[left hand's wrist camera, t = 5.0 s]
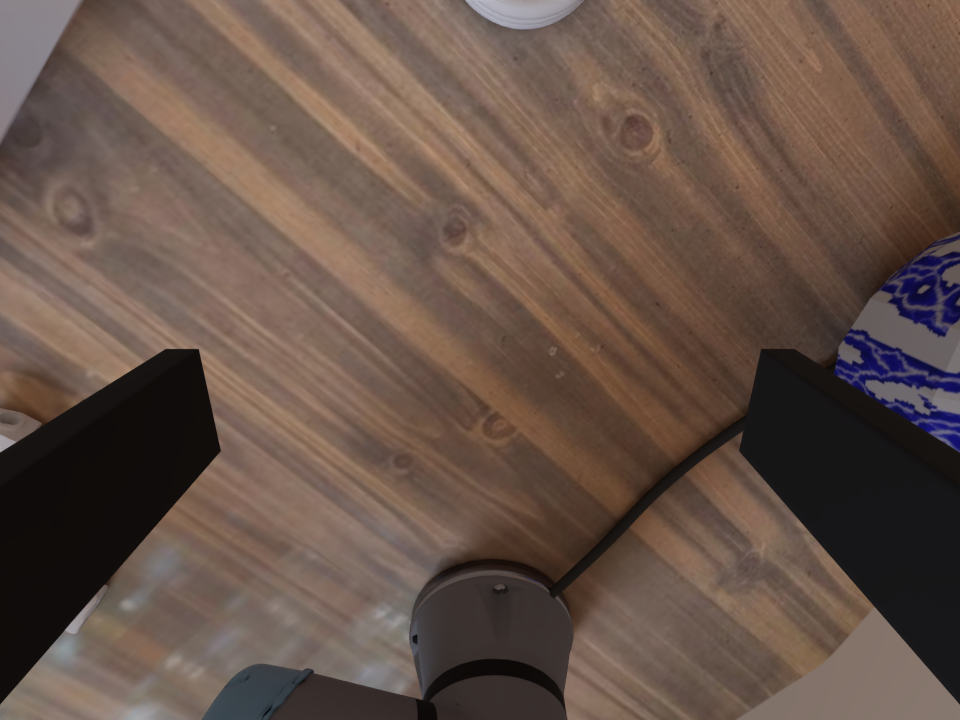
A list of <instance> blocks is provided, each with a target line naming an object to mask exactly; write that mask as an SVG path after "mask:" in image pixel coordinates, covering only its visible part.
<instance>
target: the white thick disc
mask: <svg viewBox="0 0 960 720" xmlns="http://www.w3.org/2000/svg"><path fill="white" fill-rule="evenodd" d="M465 1H466V2H467V3H468V4H469V5H470V6H471V7H472V8H473V9H474V10H476V11H477V12H478V13H479V14H481V15H482V16H483V17H485V18H487V19H489V20H490V21H492V22H494V23H497V24H499V25H501V26H505V27H509V28H513V29H535V28H540V27H544V26H547V25H550V24H553V23H555V22H557V21H559V20H560V19H562V18H564V17H566V16H567V15H568V14H570V13H571V12H572V11H574V10H575V9H576V8H577V7H578V6H579V5H580V4H581V3H582V2H583V1H584V0H465Z"/></svg>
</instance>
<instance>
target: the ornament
mask: <svg viewBox="0 0 960 720" xmlns="http://www.w3.org/2000/svg"><path fill="white" fill-rule="evenodd" d="M834 374H835V375H837V376H838V377H840V378H841V379H843V380H845V381H846V382H848V383H849V384H851V385H853V386H854V387H856V388H857V389H859V390H861V391H862V392H864V393H865V394H867V395H869V396H870V397H872V398H873V399H875V400H877V401H878V402H880V403H882V404H883V405H885V406H886V407H888V408H890V409H891V410H893V411H894V412H896V413H898V414H899V415H901V416H902V417H904V418H906V419H907V420H909V421H910V422H912V423H914V424H915V425H917V426H918V427H920V428H922V429H923V430H925V431H926V432H928V433H930V434H931V435H933V436H934V437H936V438H938V439H939V440H941V441H942V442H944V443H946V444H947V445H949V446H951V447H952V448H954V449H955V450H957V451H959V452H960V232H958V233H955V234H952V235H950V236H947V237H944V238H942V239H939V240H936V241H935V242H934V243H932V244H931V245H930V246H929V247H927V248H926V249H925V250H923V251H922V252H921V253H919V254H918V255H917V256H916V257H914V258H913V259H912V260H910V261H909V262H908V263H906V264H905V265H904V266H903V267H901V268H900V269H899V270H897V271H896V272H895V273H894V274H892V275H891V276H890V277H889V278H888V279H887V280H886V282H885V283H884V284H883V285H882V286H881V287H880V288H879V289H878V290H877V292H876V293H875V294H874V295H873V296H872V297H871V298H870V300H869V301H868V303H867V304H866V306H865V307H864V309H863V310H862V312H861V314H860V315H859V317H858V318H857V320H856V321H855V323H854V324H853V326H852V327H851V329H850V331H849V332H848V334H847V335H846V337H845V338H844V340H843V341H842V343H841V344H840V346H839V350H838V356H837V362H836V368H835V373H834Z"/></svg>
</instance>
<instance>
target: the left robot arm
mask: <svg viewBox="0 0 960 720" xmlns="http://www.w3.org/2000/svg"><path fill="white" fill-rule="evenodd" d="M836 362H837V361H836ZM836 362H835V363H833V364H831V365H829V366H828V367H826V368H824V367H822V366H821V365H819V364H817V363H816V362H814V361H812V360H811V359H809V358H808V357H806V356H804V355H803V354H801V353H800V352H798V351H796V350H795V349H761V353H760V358H759V362H758V367H757V371H756V376H755V381H754V385H753V390H752V394H751V399H750V404H749V408H748V413H747V415H746V416H744V417H743V418H741V419H740V420H738V421H737V422H735V423H734V424H732V425H731V426H729V427H728V428H726V429H725V430H724V431H722V432H721V433H719V434H718V435H716V436H715V437H714V438H712V439H711V440H709V441H708V442H707V443H705V444H704V445H703V446H701V447H700V448H699V449H697V450H696V451H695V452H693V453H692V454H691V455H690V456H688V457H687V458H686V459H685V460H683V461H682V462H681V463H680V464H679V465H677V466H676V467H675V468H674V469H673V470H672V471H670V472H669V473H668V474H667V475H666V476H665V477H663V478H662V479H661V480H660V481H659V482H658V483H657V484H656V485H655V486H654V487H653V488H651V489H650V490H649V491H648V492H647V493H646V494H645V495H644V496H643V497H642V498H641V499H640V500H639V501H638V503H637V504H636V505H635V506H634V507H633V508H632V509H631V510H630V511H629V512H628V513H627V514H626V515H625V517H624V518H623V519H622V520H621V521H620V522H619V523H618V524H617V525H616V526H615V527H614V528H613V529H612V530H611V531H610V532H609V533H608V534H607V535H606V536H605V537H604V538H603V539H602V540H601V541H600V542H599V543H598V544H597V545H596V546H595V547H594V548H593V549H592V550H591V551H590V552H589V553H588V554H587V555H586V556H585V557H584V558H582V559H581V560H580V561H579V562H578V563H577V564H576V565H575V566H574V567H573V568H572V569H571V570H570V571H569V572H567V573H566V574H565V575H564V576H563V577H562V578H561V579H560V580H559V581H558V582H557V583H554V582H553V581H551V580H550V579H549V578H548V577H546V576H545V575H544V574H542V573H540V572H539V571H537V570H535V569H533V568H530V567H528V566H525V565H522V564H518V563H514V562H510V561H502V560H482V561H474V562H469V563H465V564H461V565H458V566H456V567H453V568H451V569H449V570H447V571H445V572H443V573H441V574H440V575H438V576H437V577H435V578H434V579H433V580H432V581H430V582H429V583H428V584H427V585H426V586H425V587H424V589H423V590H422V591H421V593H420V594H419V596H418V598H417V600H416V602H415V604H414V608H413V612H412V619H411V625H410V635H409V638H410V645H411V649H412V653H413V656H414V662H415V667H416V671H417V676H418V680H419V685H420V689H421V694H422V700H420V699H415V698H412V697H408V696H403V695H399V694H395V693H391V692H387V691H383V690H379V689H375V688H371V687H367V686H363V685H359V684H355V683H351V682H347V681H342V680H338V679H334V678H330V677H326V676H322V675H318V674H314V670H312V669H308V668H307V669H305V670H303V671H301V670H295V669H289V668H284V667H279V666H273V665H268V664H256V665H252V666H249V667H247V668H245V669H243V670H242V671H241V672H239V673H238V674H237V675H235V676H234V677H233V678H232V679H231V680H230V681H229V682H228V683H227V685H226V686H225V687H224V688H223V690H222V691H221V692H220V693H219V695H218V696H217V697H216V699H215V700H214V702H213V703H212V705H211V706H210V708H209V709H208V711H207V712H206V714H205V715H204V717H203V718H202V720H567V715H566V709H565V702H564V689H565V682H566V676H567V669H568V661H569V654H570V651H571V647H572V643H573V625H572V620H571V615H570V611H569V606H568V603H567V601H566V598H565V597H564V595H563V593H562V591H563V590H564V589H565V588H567V587H568V586H569V585H570V584H571V583H572V582H573V581H574V580H575V579H576V578H577V577H578V576H580V575H581V574H582V573H583V572H584V571H585V570H586V569H587V568H588V567H589V566H590V565H591V564H592V563H593V562H594V561H596V560H597V559H598V558H599V557H600V556H601V555H602V554H603V553H604V552H605V551H606V550H607V549H608V548H609V547H610V546H611V545H612V544H613V543H614V542H615V541H616V540H617V539H618V538H619V537H620V536H621V535H622V534H623V533H624V532H625V531H626V530H627V529H628V528H629V527H630V526H631V525H632V523H633V522H634V521H635V520H636V519H637V518H638V517H639V516H640V515H641V514H642V513H643V512H644V511H645V510H646V509H647V508H648V507H649V506H650V505H651V504H652V503H653V502H654V501H655V500H656V499H657V498H658V497H659V496H660V495H661V494H662V493H663V492H664V491H665V490H667V489H668V488H669V487H670V486H671V485H672V484H673V483H674V482H676V481H677V480H678V479H679V478H680V477H682V476H683V475H684V474H685V473H686V472H688V471H689V470H690V469H691V468H692V467H694V466H695V465H696V464H698V463H699V462H700V461H701V460H703V459H704V458H705V457H707V456H708V455H709V454H711V453H712V452H713V451H715V450H716V449H718V448H719V447H720V446H722V445H723V444H725V443H726V442H728V441H729V440H730V439H732V438H733V437H735V436H736V435H738V434H739V433H741V432H742V431H743V436H742V440H741V445H740V450H739V451H740V453H741V454H742V455H743V456H744V457H745V458H746V459H747V461H748V462H749V463H750V464H751V465H752V466H753V467H754V469H755V470H756V471H757V472H758V473H759V474H760V475H761V477H762V478H763V479H764V480H765V481H766V482H767V484H768V485H769V486H770V487H771V488H772V489H773V490H774V492H775V493H776V494H777V495H778V496H779V497H780V498H781V500H782V501H783V502H784V503H785V504H786V505H787V506H788V508H789V509H790V510H791V511H792V512H793V513H794V515H795V516H796V517H797V518H798V519H799V520H800V521H801V523H802V524H803V525H804V526H805V527H806V528H807V529H808V531H809V532H810V533H811V534H812V535H813V536H814V538H815V539H816V540H817V541H818V542H819V543H820V544H821V546H822V547H823V548H824V549H825V550H826V551H827V552H828V554H829V555H830V556H831V557H832V558H833V559H834V560H835V562H836V563H837V564H838V565H839V566H840V567H841V569H842V570H843V571H844V572H845V573H846V574H847V575H848V577H849V578H850V579H851V580H852V581H853V582H854V583H855V585H856V586H857V587H858V588H859V589H860V590H861V591H862V593H863V594H864V595H865V596H866V597H867V598H868V600H869V601H870V602H871V603H872V604H873V605H874V606H875V608H876V609H877V610H878V611H879V612H880V613H881V614H882V616H883V617H884V618H885V619H886V620H887V621H888V622H889V624H890V625H891V626H892V627H893V628H894V629H895V631H896V632H897V633H898V634H899V635H900V636H901V637H902V639H903V640H904V641H905V642H906V643H907V644H908V645H909V647H910V648H911V649H912V650H913V651H914V652H915V654H916V655H917V656H918V657H919V658H920V659H921V660H922V662H923V663H924V664H925V665H926V666H927V667H928V668H929V670H930V671H931V672H932V673H933V674H934V675H935V676H936V678H937V679H938V680H939V681H940V682H941V683H942V684H943V686H944V687H945V688H946V689H947V690H948V691H949V693H950V694H951V695H952V696H953V697H954V698H955V699H956V701H957V702H958V703H959V704H960V452H959V451H957V450H955V449H954V448H952V447H951V446H949V445H947V444H946V443H944V442H942V441H941V440H939V439H938V438H936V437H934V436H933V435H931V434H930V433H928V432H926V431H925V430H923V429H922V428H920V427H918V426H917V425H915V424H914V423H912V422H910V421H909V420H907V419H906V418H904V417H902V416H901V415H899V414H898V413H896V412H894V411H893V410H891V409H890V408H888V407H886V406H885V405H883V404H882V403H880V402H878V401H877V400H875V399H873V398H872V397H870V396H869V395H867V394H865V393H864V392H862V391H861V390H859V389H857V388H856V387H854V386H853V385H851V384H849V383H848V382H846V381H845V380H843V379H841V378H840V377H838V376H837V375H835V374H834V373H835V368H836ZM220 451H221V450H220V445H219V440H218V436H217V431H216V427H215V422H214V417H213V413H212V408H211V404H210V399H209V394H208V390H207V385H206V381H205V376H204V371H203V367H202V362H201V358H200V353H199V349H165V350H164V351H162V352H160V353H159V354H157V355H156V356H154V357H152V358H151V359H149V360H148V361H146V362H144V363H143V364H141V365H139V366H138V367H136V368H135V369H133V370H131V371H130V372H128V373H127V374H125V375H123V376H122V377H120V378H119V379H117V380H115V381H114V382H112V383H111V384H109V385H107V386H106V387H104V388H103V389H101V390H99V391H98V392H96V393H95V394H93V395H91V396H90V397H88V398H87V399H85V400H83V401H82V402H80V403H78V404H77V405H75V406H74V407H72V408H70V409H69V410H67V411H66V412H64V413H62V414H61V415H59V416H58V417H56V418H54V419H53V420H51V421H50V422H48V423H46V424H45V425H43V426H42V427H40V428H38V429H37V430H35V431H34V432H32V433H30V434H29V435H27V436H26V437H24V438H22V439H21V440H19V441H18V442H16V443H14V444H13V445H11V446H9V447H8V448H6V449H5V450H3V451H1V452H0V704H1V703H2V702H3V701H4V699H5V698H6V697H7V696H8V695H9V694H10V693H11V691H12V690H13V689H14V688H15V687H16V686H17V685H18V683H19V682H20V681H21V680H22V679H23V678H24V676H25V675H26V674H27V673H28V672H29V671H30V670H31V668H32V667H33V666H34V665H35V664H36V663H37V662H38V660H39V659H40V658H41V657H42V656H43V655H44V654H45V652H46V651H47V650H48V649H49V648H50V647H51V645H52V644H53V643H54V642H55V641H56V640H57V639H58V637H59V636H60V635H61V634H62V633H63V632H64V631H65V629H66V628H67V627H68V626H69V625H70V624H71V622H72V621H73V620H74V619H75V618H76V617H77V616H78V614H79V613H80V612H81V611H82V610H83V609H84V608H85V606H86V605H87V604H88V603H89V602H90V601H91V600H92V598H93V597H94V596H95V595H96V594H97V593H98V591H99V590H100V589H101V588H102V587H103V586H104V585H105V583H106V582H107V581H108V580H109V579H110V578H111V577H112V575H113V574H114V573H115V572H116V571H117V570H118V569H119V567H120V566H121V565H122V564H123V563H124V562H125V560H126V559H127V558H128V557H129V556H130V555H131V554H132V552H133V551H134V550H135V549H136V548H137V547H138V546H139V544H140V543H141V542H142V541H143V540H144V539H145V538H146V536H147V535H148V534H149V533H150V532H151V531H152V529H153V528H154V527H155V526H156V525H157V524H158V523H159V521H160V520H161V519H162V518H163V517H164V516H165V515H166V513H167V512H168V511H169V510H170V509H171V508H172V506H173V505H174V504H175V503H176V502H177V501H178V500H179V498H180V497H181V496H182V495H183V494H184V493H185V492H186V490H187V489H188V488H189V487H190V486H191V485H192V484H193V482H194V481H195V480H196V479H197V478H198V477H199V475H200V474H201V473H202V472H203V471H204V470H205V469H206V467H207V466H208V465H209V464H210V463H211V462H212V461H213V459H214V458H215V457H216V456H217V455H218V454H219V453H220Z"/></svg>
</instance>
